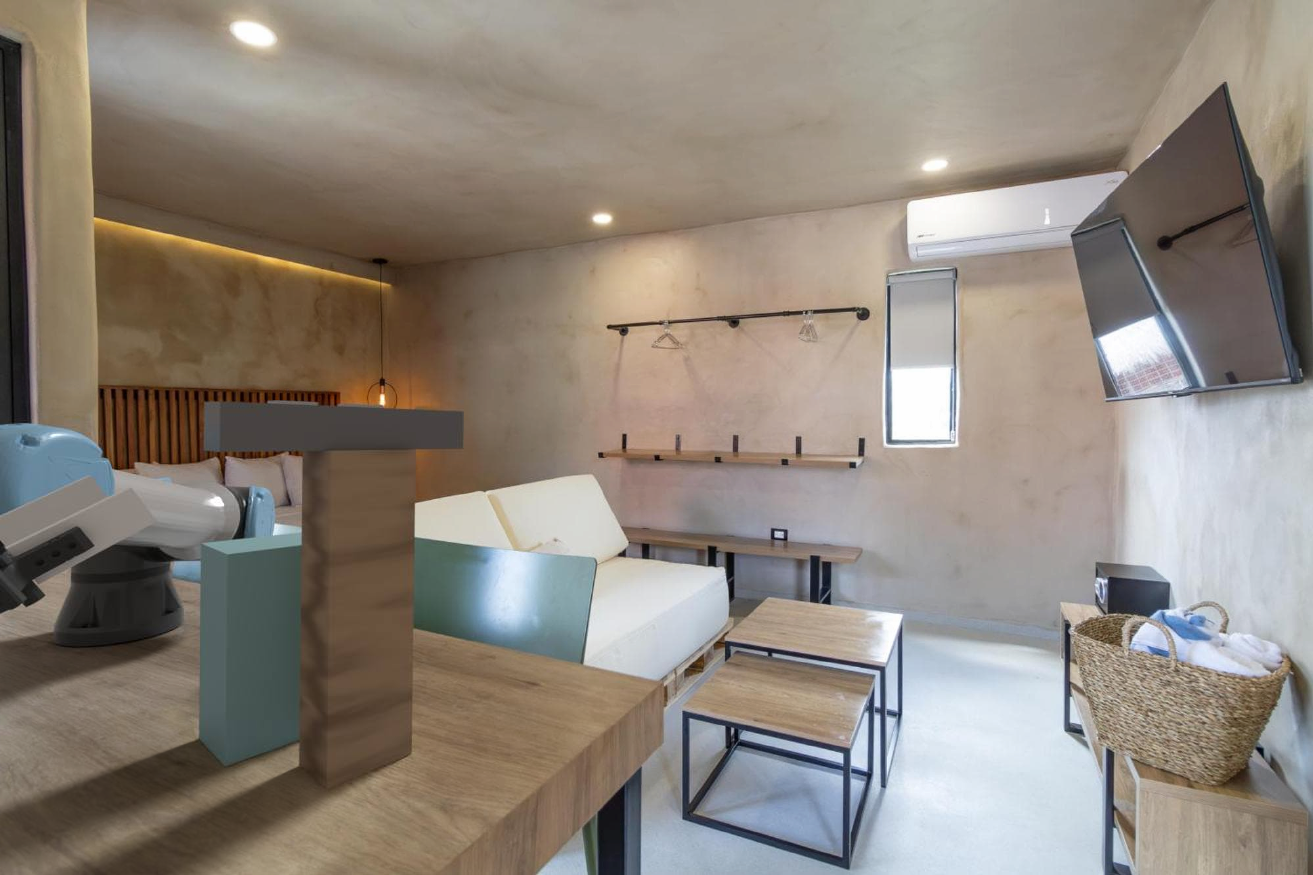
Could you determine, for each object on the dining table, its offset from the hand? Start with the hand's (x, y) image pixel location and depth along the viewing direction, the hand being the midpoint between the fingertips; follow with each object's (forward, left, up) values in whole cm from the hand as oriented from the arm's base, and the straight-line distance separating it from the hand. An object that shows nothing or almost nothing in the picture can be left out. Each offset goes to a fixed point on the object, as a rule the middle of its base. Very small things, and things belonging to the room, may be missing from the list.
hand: (120, 495), depth 45 cm
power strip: (0, +17, +3) cm, 17 cm away
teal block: (-12, +14, -27) cm, 33 cm away
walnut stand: (0, +18, -27) cm, 32 cm away
